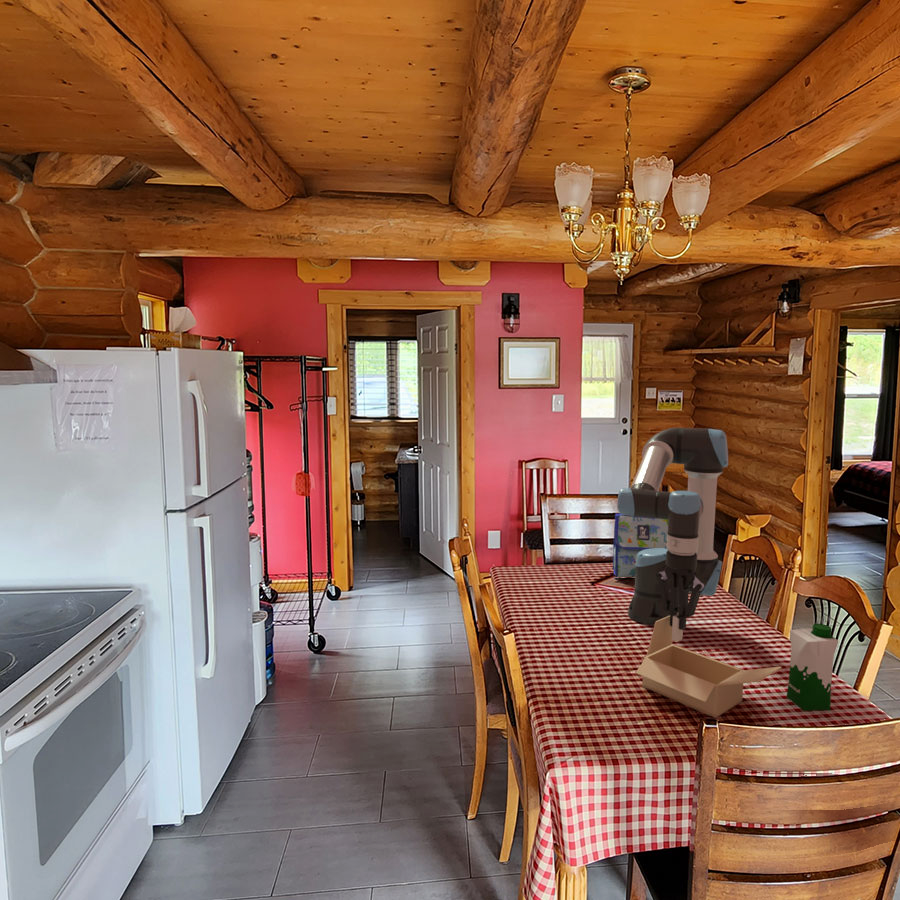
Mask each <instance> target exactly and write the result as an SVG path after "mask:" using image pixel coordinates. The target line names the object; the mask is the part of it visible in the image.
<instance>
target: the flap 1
mask: <svg viewBox="0 0 900 900" xmlns="http://www.w3.org/2000/svg"><path fill="white" fill-rule="evenodd" d="M677 614H678V613H677ZM673 642H674V641H672V627H671V626H670V616H667V617H665V618H662V619H660V620H657V621H655V625H653V630H652V633H651V638H650V642H649V644H648V649H647V653H646V656H648V655H650V654H652V653H654V652H657V651H659V650H661V649H663V648H665V647H667V646H670V645H673Z"/></svg>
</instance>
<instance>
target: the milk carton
mask: <svg viewBox="0 0 900 900" xmlns="http://www.w3.org/2000/svg"><path fill="white" fill-rule="evenodd" d="M789 636H790V661H789V673H788V675H789V676H788V684H787V693H786V698H787V699H788V700H789V701H791V702H792V703H793V704H795V706H797V707H798V708H799V709H801V710H802V711H803V712H804V711H805V712H808V711H811V712H812V711H831V710H832V709H831V708H832V707H831V704H832V701H831V700H832V681H833V668H834V667H833V665H834V656H835V653H836V650H837V647H838V644H839V639H836V638H835V637H834V636H833V635H832V627H831V626H829V625H827V624H824V623H823V624H822V623H814V624H812V628H799V629H789Z"/></svg>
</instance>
